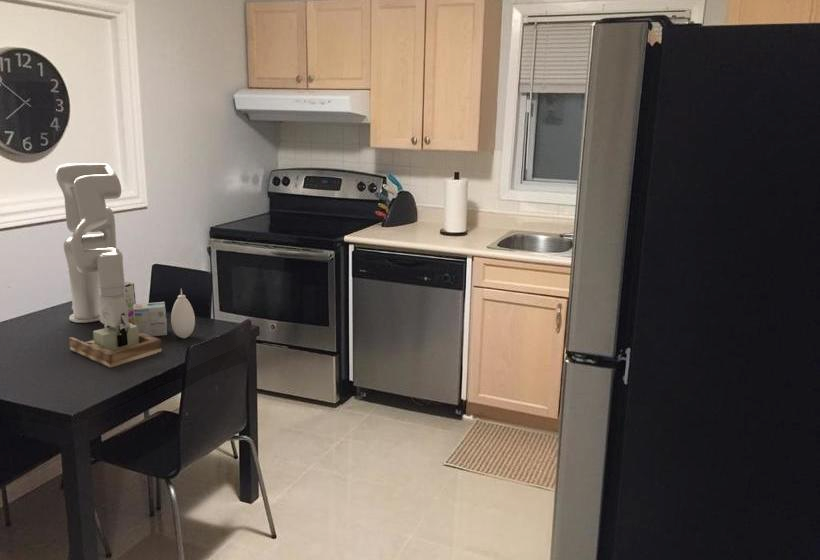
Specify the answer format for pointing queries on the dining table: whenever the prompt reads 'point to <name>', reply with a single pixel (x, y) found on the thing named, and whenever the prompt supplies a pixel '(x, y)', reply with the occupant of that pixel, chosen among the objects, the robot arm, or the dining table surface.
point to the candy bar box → (130, 300)
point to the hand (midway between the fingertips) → (117, 342)
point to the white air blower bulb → (182, 317)
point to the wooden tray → (119, 356)
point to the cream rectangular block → (115, 337)
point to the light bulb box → (150, 318)
